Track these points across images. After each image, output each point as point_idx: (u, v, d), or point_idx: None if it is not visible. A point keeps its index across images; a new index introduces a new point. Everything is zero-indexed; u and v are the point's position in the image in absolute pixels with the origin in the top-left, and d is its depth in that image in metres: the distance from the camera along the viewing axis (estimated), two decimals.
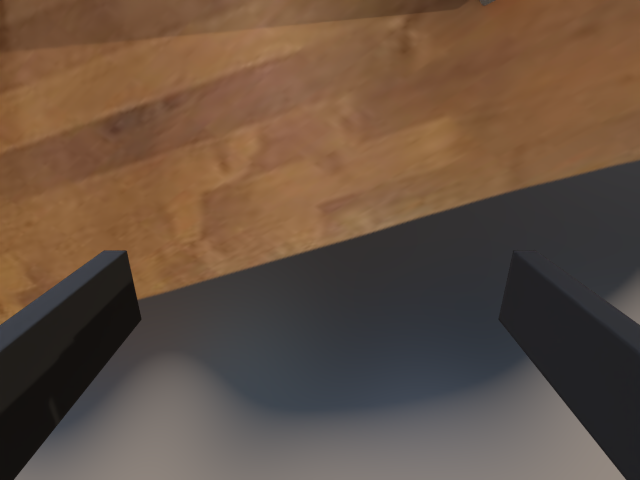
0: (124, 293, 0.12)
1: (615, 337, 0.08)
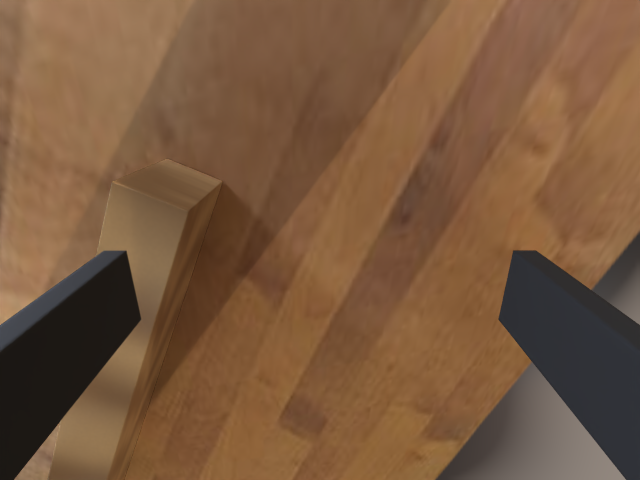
0: (124, 293, 0.12)
1: (615, 337, 0.08)
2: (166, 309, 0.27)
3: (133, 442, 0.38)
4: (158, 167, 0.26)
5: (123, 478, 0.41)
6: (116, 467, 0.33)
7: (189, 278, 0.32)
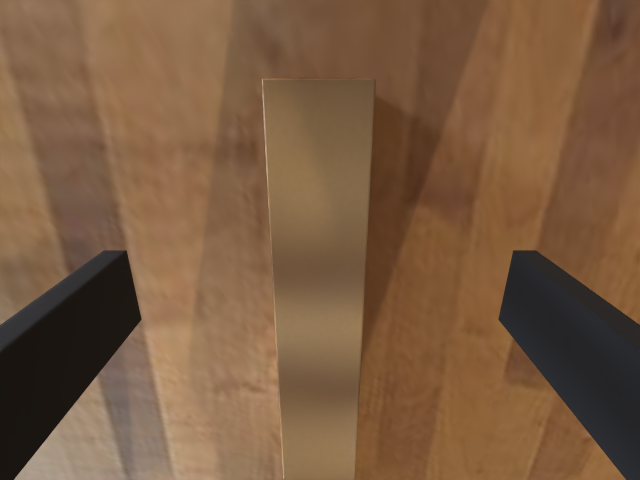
0: (124, 293, 0.12)
1: (615, 337, 0.08)
2: None
3: None
4: None
5: None
6: None
7: None
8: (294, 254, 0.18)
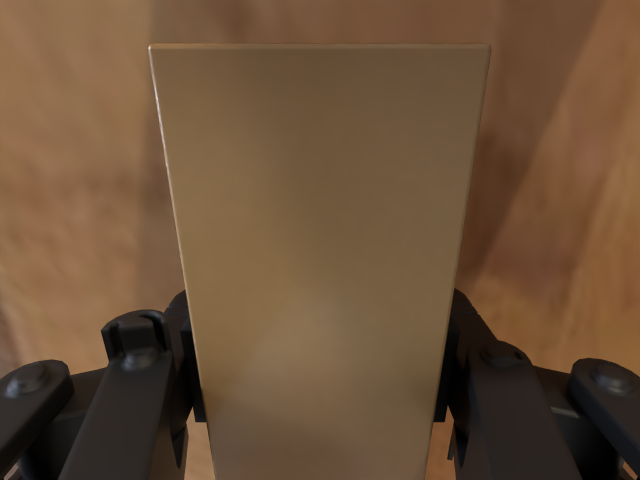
0: None
1: None
2: None
3: None
4: None
5: None
6: None
7: None
8: (265, 457, 0.08)
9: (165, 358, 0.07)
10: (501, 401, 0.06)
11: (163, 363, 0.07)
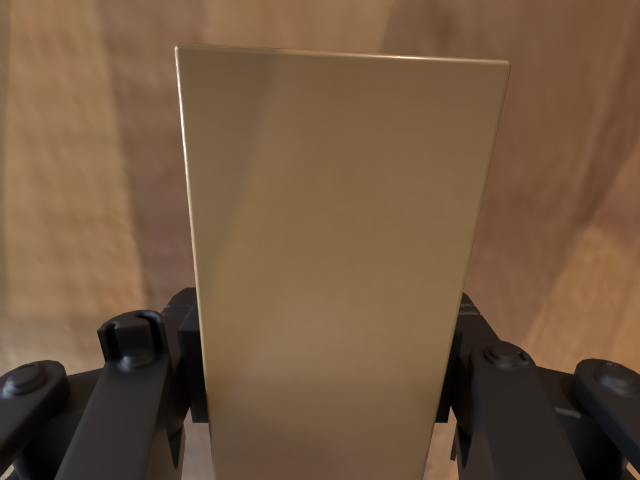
0: None
1: None
2: None
3: None
4: None
5: None
6: None
7: None
8: (264, 458, 0.08)
9: (162, 358, 0.07)
10: (505, 402, 0.06)
11: (160, 363, 0.07)
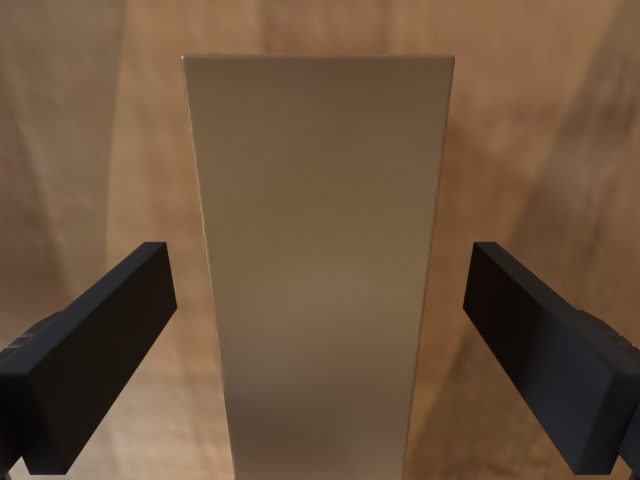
0: (164, 282, 0.13)
1: (548, 317, 0.09)
2: None
3: None
4: None
5: None
6: None
7: None
8: (271, 407, 0.09)
9: None
10: None
11: None
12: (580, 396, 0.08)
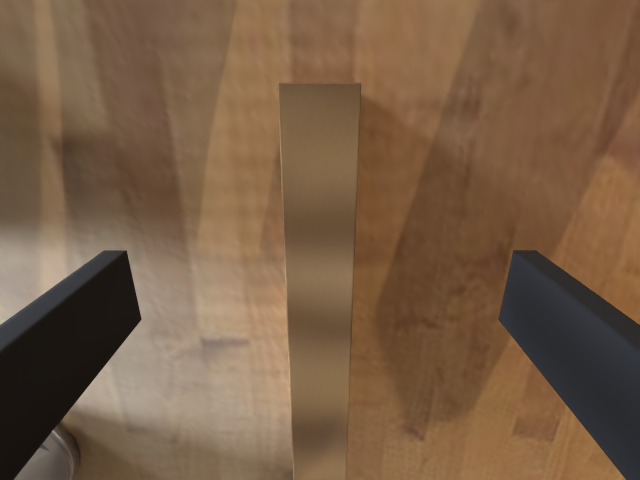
0: (124, 293, 0.12)
1: (615, 337, 0.08)
2: None
3: None
4: None
5: None
6: None
7: None
8: (301, 216, 0.23)
9: None
10: None
11: None
12: None
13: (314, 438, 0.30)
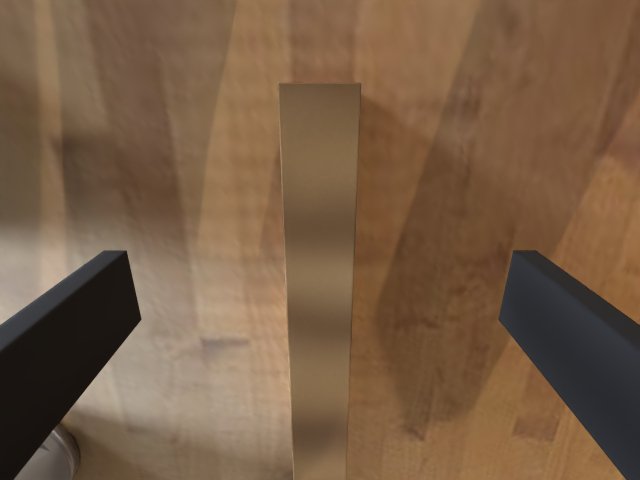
0: (124, 293, 0.12)
1: (615, 337, 0.08)
2: None
3: None
4: None
5: None
6: None
7: None
8: (301, 216, 0.23)
9: None
10: None
11: None
12: None
13: (314, 437, 0.30)
